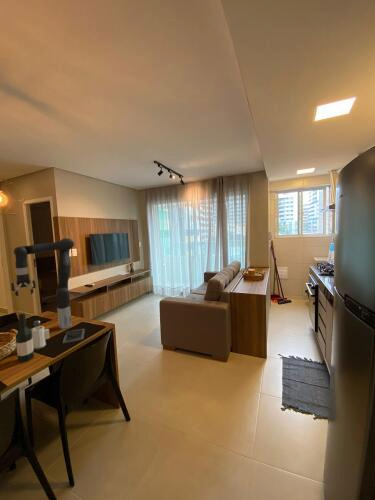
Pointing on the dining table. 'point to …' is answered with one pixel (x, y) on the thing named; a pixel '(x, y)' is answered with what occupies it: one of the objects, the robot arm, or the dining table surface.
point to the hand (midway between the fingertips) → (24, 294)
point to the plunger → (37, 323)
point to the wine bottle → (24, 341)
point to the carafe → (39, 337)
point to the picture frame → (73, 336)
